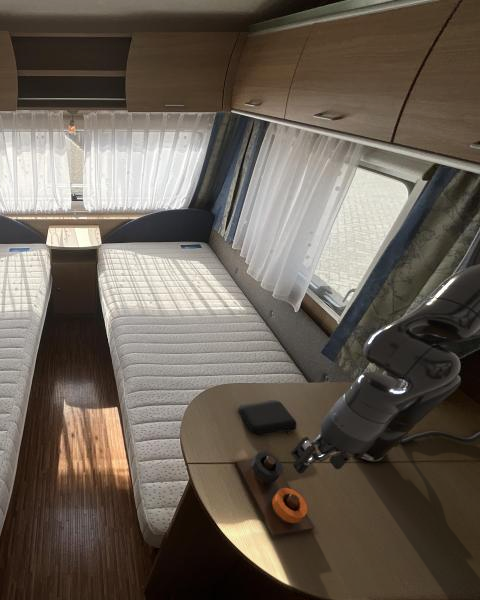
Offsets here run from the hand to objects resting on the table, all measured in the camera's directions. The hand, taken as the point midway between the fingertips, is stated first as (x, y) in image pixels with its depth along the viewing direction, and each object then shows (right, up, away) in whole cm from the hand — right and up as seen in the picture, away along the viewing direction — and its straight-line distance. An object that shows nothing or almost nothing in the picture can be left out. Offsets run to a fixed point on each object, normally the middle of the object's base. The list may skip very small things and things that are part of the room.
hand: (315, 467), depth 71 cm
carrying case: (+6, -1, +30) cm, 31 cm away
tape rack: (-2, -13, +13) cm, 19 cm away
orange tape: (-2, -13, +7) cm, 15 cm away
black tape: (-3, -8, +14) cm, 17 cm away
